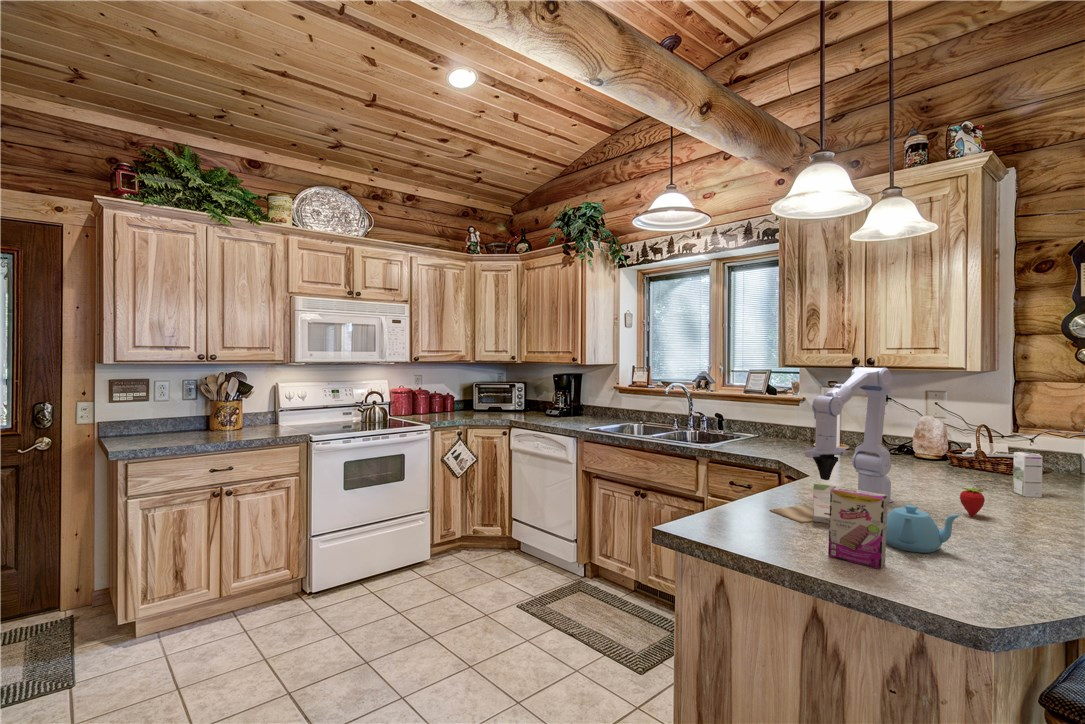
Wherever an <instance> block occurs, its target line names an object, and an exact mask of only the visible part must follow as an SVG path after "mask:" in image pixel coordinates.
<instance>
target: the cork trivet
mask: <svg viewBox="0 0 1085 724" xmlns="http://www.w3.org/2000/svg"><path fill="white" fill-rule="evenodd" d="M769 512H771V513H775V514H776V515H778V516H781V517H784V518H787V519H789V520H793V521H795V522H797V523H799V524H804V523H806V524H807V523H812V522H814V521H813V507H810V506H807V505H805V504H804V505H797V506H796V505H795V506H788V507H782V508H774V509H773V508H771V509H769Z"/></svg>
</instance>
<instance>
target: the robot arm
mask: <svg viewBox="0 0 1085 724" xmlns="http://www.w3.org/2000/svg"><path fill="white" fill-rule="evenodd" d="M892 380H893V375H892V373H891V372H890V369H889V368H887V367H865V366H863V367H862V366H856V367H854V369H852V370H851V374H850V377H849V378H848V379H847V380H846V381H845V382H844V383H836V384H834V386H833V387H832V388H831V389H830V390H828V391H827V392H826V393H824V395H818V396H816V397H815V398H813V401H812V404H811V410H812V412H813V418H814V420H815V442H814V443H815V446H814V447H813V446H812V448H811V449H807V450H805V451H804V457H805V458H809V459H813V461H814V462H815V464H816V467H817V471H818V473H819V477H820V480H824V481H829V480H830V479H831V475H832V473H833V470H834V467H835V466H836V464H837V463H838V461H839V457H838V456H839V455H841V456H846V455H847V454H846V452H847V448H843V447H837V441H838V438H837V437H838V436H837V435H838V433H837V432H838V430H837V429H838V416H839V415H841V413H842V410H843V408H844V406H845V404H846V403H848V402H849V401H850V400H851V399H852V398H853V393H855V392H856V391H857V390H858V389H859V390H860V391H861V392H863V393H865V394H866V395H867V405H866V414H865V423H864V424H865V425H864V434H863V443H861V444H860V445H858V446H856V447H855V449H854V453H853V455H852V459H851V463H852V466H853V468H854V470H855V472H856V473H857V490H861V491H867V492H873V493H879V494H884V495H887V496H888V503H893V502H894V500H893V499H891V492H892V490H891V489H892V483H891V482H892V481H891V478H890V477H889V476H888V475H887V474H889V473H890V471H891V468H892V462H891V453H890V451H889V450H888V449H887V448H885V447H884V446H883V444H882V443H883V432H884V425H885V422H884V421H885V414H886V404H887V403H886V402H887V395H888V394H890V393H891V388H892V383H893V382H892Z"/></svg>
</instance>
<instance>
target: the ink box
mask: <svg viewBox="0 0 1085 724" xmlns="http://www.w3.org/2000/svg"><path fill="white" fill-rule="evenodd" d="M835 486H836V485H830V484H829V485H826V484H818V483H814V484H813V487H812V489H813V492H812V508H813V522H816V523H823V524H829V521H830V492H831V489H832V488H834V487H835ZM843 487H844V486H843ZM844 488H846V487H844Z"/></svg>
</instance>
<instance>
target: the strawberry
mask: <svg viewBox="0 0 1085 724" xmlns="http://www.w3.org/2000/svg"><path fill="white" fill-rule="evenodd" d="M962 489H963V491H961V492H960V494H959V501H960V504H961V505H962V506H963V508H964V509H965V510H966V512H967V513H968V515H969V516H971V517H975V516H976V515H977V513H978V512H980V510H981V509H982V508H983V507H984V504H985V501H986V499H985V496H984V495H983V494H982V493H981V492H983V490H981V489H980V490H979V489H976V488H974V487H972V488H967V487H962Z"/></svg>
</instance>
